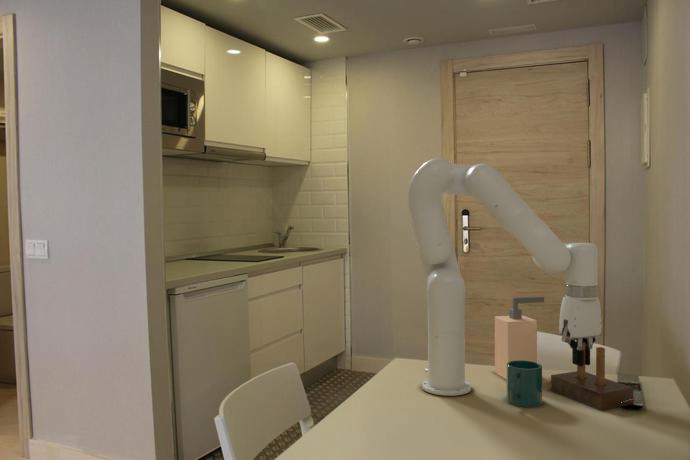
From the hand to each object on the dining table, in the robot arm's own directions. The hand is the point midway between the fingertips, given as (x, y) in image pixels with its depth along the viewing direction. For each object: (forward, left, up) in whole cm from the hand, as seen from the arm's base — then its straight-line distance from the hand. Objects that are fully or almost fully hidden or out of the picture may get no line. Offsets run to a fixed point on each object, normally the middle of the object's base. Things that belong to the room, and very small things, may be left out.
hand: (581, 364), depth 146 cm
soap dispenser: (-19, -3, -8) cm, 21 cm away
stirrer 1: (0, 0, -8) cm, 8 cm away
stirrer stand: (+3, 0, -8) cm, 8 cm away
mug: (0, -19, -8) cm, 20 cm away
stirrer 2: (+6, 0, -8) cm, 10 cm away
